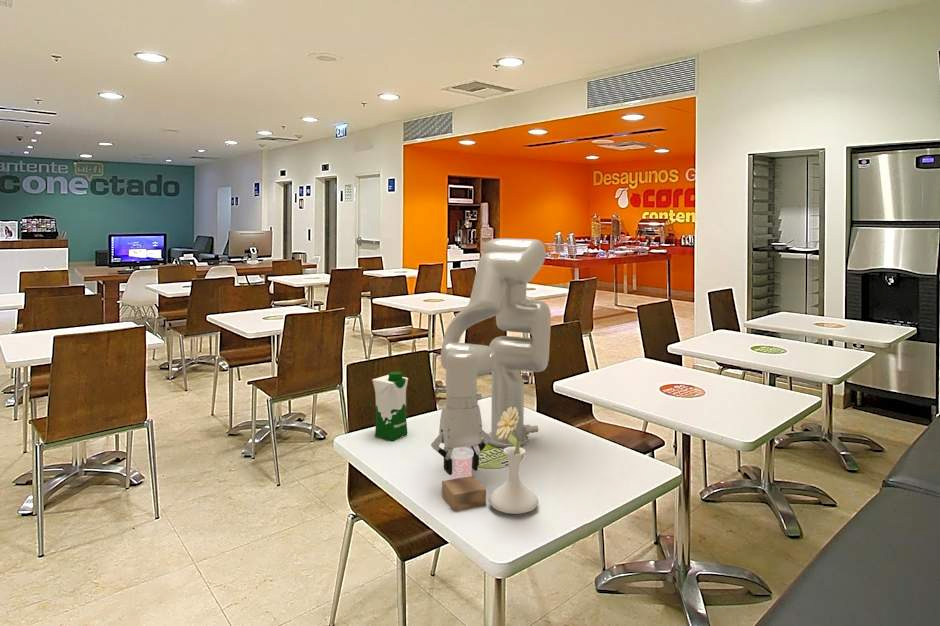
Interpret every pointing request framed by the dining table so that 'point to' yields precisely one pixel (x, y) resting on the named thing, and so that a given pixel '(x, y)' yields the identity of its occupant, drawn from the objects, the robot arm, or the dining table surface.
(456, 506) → the riser
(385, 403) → the milk carton
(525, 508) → the flower in vase
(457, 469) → the beverage cup
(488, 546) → the dining table surface
